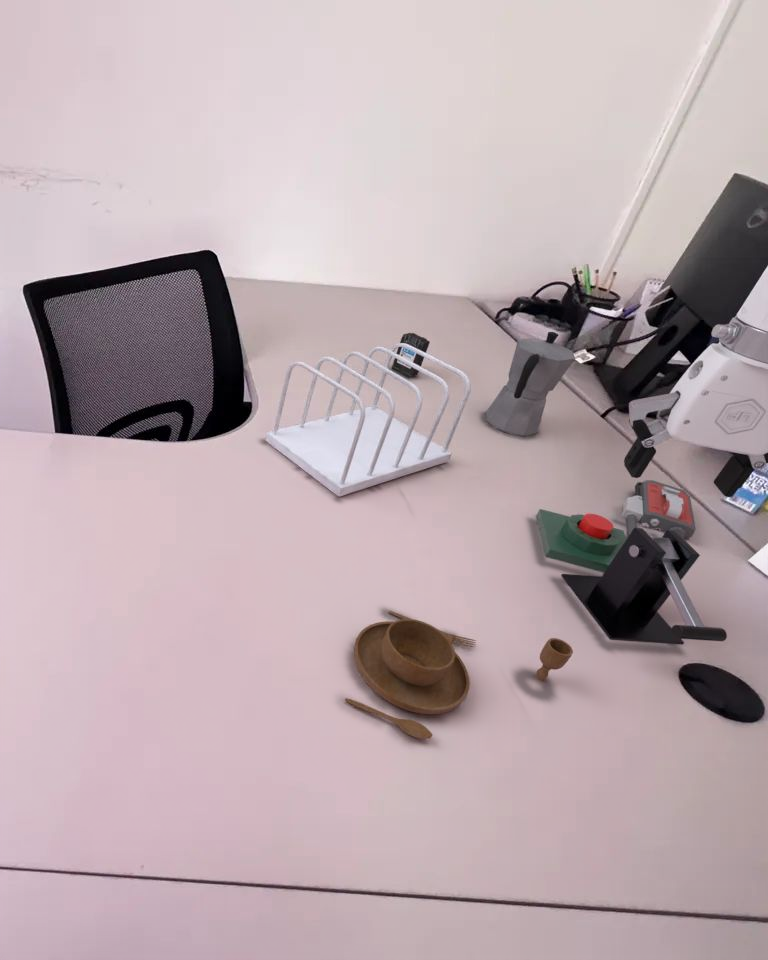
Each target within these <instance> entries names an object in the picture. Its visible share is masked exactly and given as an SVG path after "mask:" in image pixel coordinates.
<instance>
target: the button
mask: <svg viewBox="0 0 768 960" xmlns="http://www.w3.org/2000/svg"><path fill="white" fill-rule="evenodd" d="M583 515H584V517H583V519H582V520H581V522H580V523H579V525H578V528H579V529H580V530H582V531H583V532H584V533H585V534H587V535H589V536H591V537H594V538H598V539H606V538H607V537H608V536H609V534H610V533H611V531H612V530H613V528H614V524H613V523H612V522H611V521H610V520H609V519H608V518H606V517H604V516H602V515H599V514H597V513H586V514H583Z"/></svg>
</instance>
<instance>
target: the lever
mask: <svg viewBox="0 0 768 960" xmlns="http://www.w3.org/2000/svg"><path fill="white" fill-rule="evenodd" d="M650 537H651V538H652V539H653V540H654V541H655V542H656V543H657V544H658V545H659V546H660V547H661V548H662V549H663V550H664V551H665V552H666V554H665V555H664V557H663V558H662V559H661V561H660V562H659V564H658V565H657V566H656V568H658V570H659V572H660V574H661V576H662V578H663V580H664V582H665V584H666V586H667V588H668V590H669V592H670V596H671V598H672V600H673V602H674V604H675V606H676V608H677V610H678V613H679V614H680V616H681V618H682V620H683V622H684V624H685V625H684V624H674V625H673V626H671V628H672V629H671V633H672V635H673V636H674V637H675V638H678V639H682V640H693V641H709V642H725V641H726V640H727V638H728V634H727V632H726V631H727V630H726V629H724V628H723V627H717V626H716V627H714V626H705V625H704V622H703V621H702V618H701V617H700V615H699V613H698V611H697V610H696V609H697V608H696V607H695V605H694V603H693V601H692V600H691V598H690V596H689V594H688V592H687V589H686V588H685V585H684V584H683V582H682V580H680V578H679V576H678V574H677V572H676V570H675V568H674V566H673V563H674V562H676V561H677V560H679V559H680V558H679V556H678V554H677V552H676V550H675V548H674V547H673V545H672V543H671V541H670V539H669V538H662V537H660V536H659V537H658V536H650Z"/></svg>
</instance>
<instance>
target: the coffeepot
mask: <svg viewBox="0 0 768 960" xmlns="http://www.w3.org/2000/svg"><path fill="white" fill-rule="evenodd" d="M557 338H559V333H557V332H555V331H548V332H547V336H546V339H540V338H536V337H535V338H534V337H527V338H521V339H520V338H519V339H517V342H516V345H515V349H514V353H513V357H512V361H511V364H510V368H509V371H508V381H507V383H506V385H503V387H502V388H501V390H500V391H499V392H498V394H497V395H496V397H495V398H494V400H493V401H492V403H491V404H490V406H489V407H488V409H487V410H486V411H485V420H486V422H487V423H488V424H489V425H490V426H492V427H493V428H494V429H497V430H498V431H501V432H503V433H506V434H509V435H514V436H520V437H530V436H534V434H537V433H539V428H540V425H541V422H542V419H543V418H542V417H543V414H544V410H545V406H546V404H547V396H548V394H549V392H551V391H554V390H555V388H556V386H557V385H558V384H559V382H560V381H561V379H562V378H563V377H564V375H565V374H566V373H567V371H568V370H569V368H570V367H571V366H572V364H573V363H574V361H576V357H575V354H574V351H573V350H571V349H570V348H567V347H565V346H563V345H562V343H561V342H556V340H557Z"/></svg>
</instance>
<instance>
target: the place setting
mask: <svg viewBox="0 0 768 960" xmlns="http://www.w3.org/2000/svg"><path fill="white" fill-rule="evenodd" d="M388 613H389V614H390V615H392V616H395V617H397V618H399V619H397V620H394V621H391V620H390V621H389V620H388V621H379V622H375V623H371V624H369V625H367V626H366V627H364V628H363V629H362V630H361V631H360V632H359V633H358V634H357V637H356V639H355V642H354V646H353V659H354V663H355V665H356V668H357V671H358V673H359V674H360V676H361V677H362V679H363V681H364V682H365V683H366V684H367V686H369V688H371V689H372V690H373V691H374V692H375V693H376V694H377V695H378V696H380V697H381V698H382V699H383V700H385V701H387V702H388V703H390V704H392V705H394V706H396V707H398V708H400V709H402V710H406V711H408V712H412V713H416V714H420V715H421V714H422V715H439V714H444V713H447V712H451V711H452V710H454V709H456V708H458V707H459V706H460V705H461V704H462V703H463V702H464V701H465V699H466V698H467V696H468V694H469V691H470V686H471V681H470V675H469V671H468V670H467V667H466V665H465V664H464V662H463V660H462V658H461V657H460V656H459V654H458V653H457V652H456V651H455V648H454V645H453V644H457V645H460V646H465V647H470V648H475V646H476V642H477V640H476V639H473V638H468V637H464V636H460V635H456V634H451V633H447V632H445V631H443V630H440V629H438V628H436V627H435V626H433V625H432V624H430V623H427V622H424V621H421V620H419V619H413V618H410V617H407V616H405V615H402V614H400V613H397V612H394V611H391V610H388ZM573 653H574V650H573V648H572V646H571V645H570V644H569V643H568V642H566V641H565V640H563V639H560V638H558V637H557V638H556V637H551V638H549V639H548V640H547V641H546V642H545V644H544V646H543V648H542V649H541V651H540V653H539V660H540V662H541V664H542V665H541V667H540V668H538V669H537V670H536V676H535V679H536V680H538V681H540V682H542V681H543V680H545V679H547V678H548V677H549V672H550V671H551V670H554V671H555V670H559V669H562V668H563V667H564V666H565V665H566V664H567V663H568V661H569V659H570V658H571V657H572V655H573ZM344 701H345V702H346V703H348V704H350V705H352V706H354V707H357V708H359V709H361V710H364V711H365V712H366V711H367V712H369V713H371V714H373V715H377V716H379V717H381V718H384V719H386V720H388V721H390V722H393V723H394V724H395V725H397V726H398V727H399V728H400V729H401V730H402V731H403V732H404V733H406V734H407V735H409V736H410V737H412V738H413V737H414V738H417V739H421V740H428V739H431V738H432V737H433V734H432V731H430V730H429V728H427V727H426V726H425V725H423V724H422V723H420V722H418V721H416V720H414V719H413V720H412V719H407V718H399V717H395V716H391V715H390V714H387V713H384V712H383V711H380V710H378V709H375V708H373V707H371V706H369V705H367V704H364V703H362V702H359V701H356V700H354V699H350V698H348V697H346V698H344Z"/></svg>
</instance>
